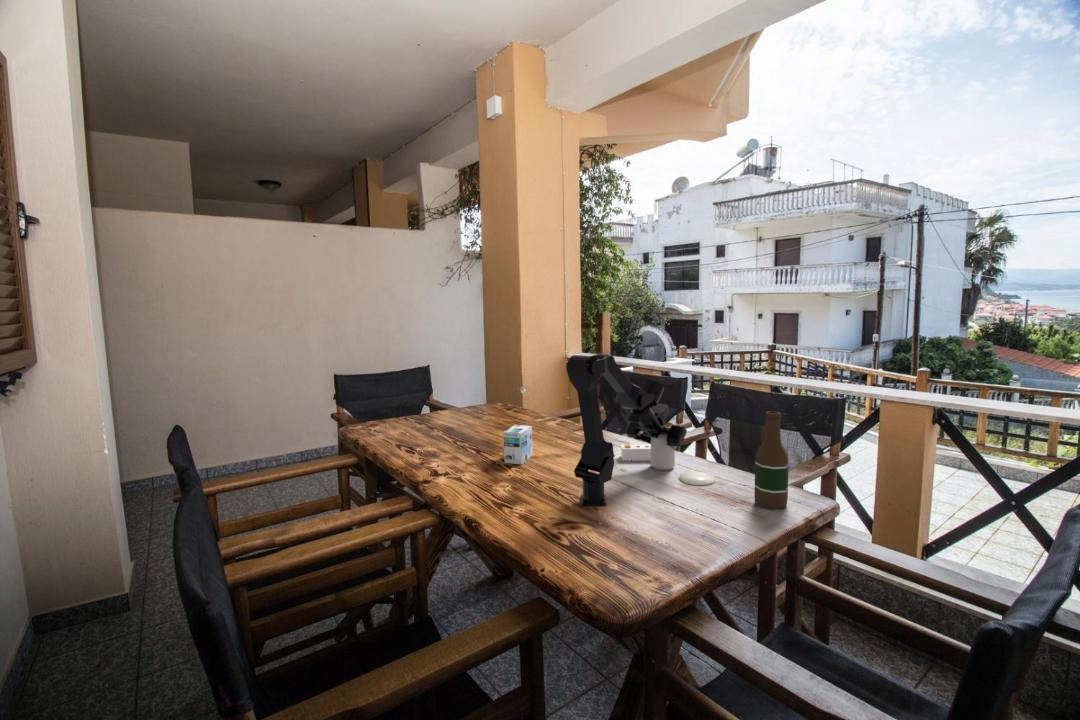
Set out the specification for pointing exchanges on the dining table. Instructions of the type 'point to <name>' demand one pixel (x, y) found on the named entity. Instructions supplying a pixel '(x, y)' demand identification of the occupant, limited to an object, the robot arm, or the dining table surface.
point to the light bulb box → (518, 444)
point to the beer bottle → (771, 467)
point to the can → (662, 454)
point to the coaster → (697, 478)
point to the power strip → (636, 452)
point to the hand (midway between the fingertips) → (664, 445)
